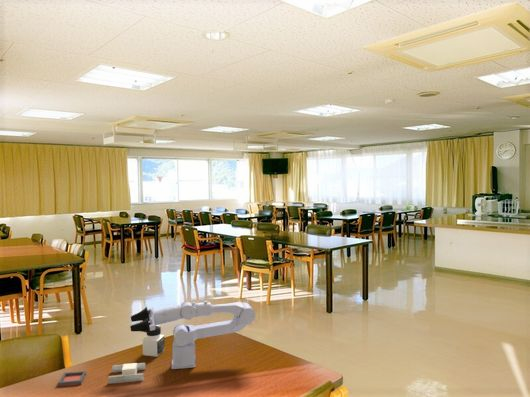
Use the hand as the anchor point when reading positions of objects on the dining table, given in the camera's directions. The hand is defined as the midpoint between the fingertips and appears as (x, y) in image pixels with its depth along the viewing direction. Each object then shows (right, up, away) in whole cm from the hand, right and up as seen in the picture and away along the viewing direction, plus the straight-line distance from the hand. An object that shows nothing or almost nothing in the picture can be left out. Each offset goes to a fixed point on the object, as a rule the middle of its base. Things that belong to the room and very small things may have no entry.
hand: (130, 323), depth 164 cm
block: (+1, -20, -4) cm, 20 cm away
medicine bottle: (+5, -18, +18) cm, 26 cm away
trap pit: (-20, -19, -7) cm, 29 cm away
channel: (0, -19, -4) cm, 20 cm away
